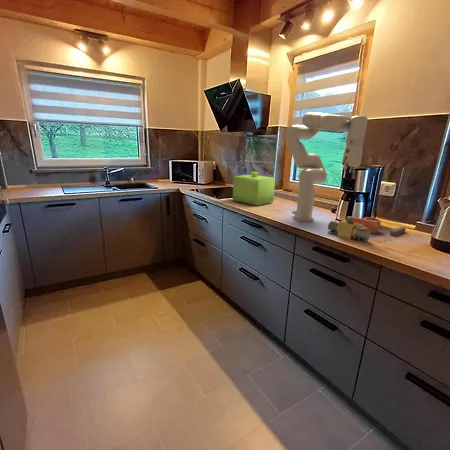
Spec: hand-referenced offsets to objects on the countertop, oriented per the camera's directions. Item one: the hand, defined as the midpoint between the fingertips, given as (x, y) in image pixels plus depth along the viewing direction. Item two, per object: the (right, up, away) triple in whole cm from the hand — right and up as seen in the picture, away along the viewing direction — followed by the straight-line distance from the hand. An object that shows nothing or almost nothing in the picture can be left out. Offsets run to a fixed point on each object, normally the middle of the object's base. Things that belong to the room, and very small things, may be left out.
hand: (347, 180), depth 141 cm
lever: (+3, -23, -7) cm, 24 cm away
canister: (-41, -4, +81) cm, 90 cm away
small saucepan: (+13, -27, +11) cm, 32 cm away
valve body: (0, -29, 0) cm, 29 cm away
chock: (+31, -28, +8) cm, 42 cm away
